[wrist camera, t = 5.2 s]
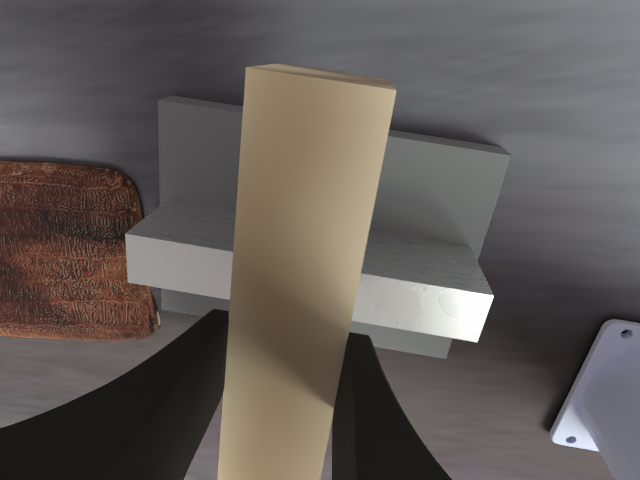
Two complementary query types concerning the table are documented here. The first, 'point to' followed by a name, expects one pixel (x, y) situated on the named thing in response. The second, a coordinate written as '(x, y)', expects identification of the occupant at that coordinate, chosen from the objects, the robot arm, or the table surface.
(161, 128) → the grey slab
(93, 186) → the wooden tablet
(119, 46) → the table surface
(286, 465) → the maple bar
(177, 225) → the steel ridge
